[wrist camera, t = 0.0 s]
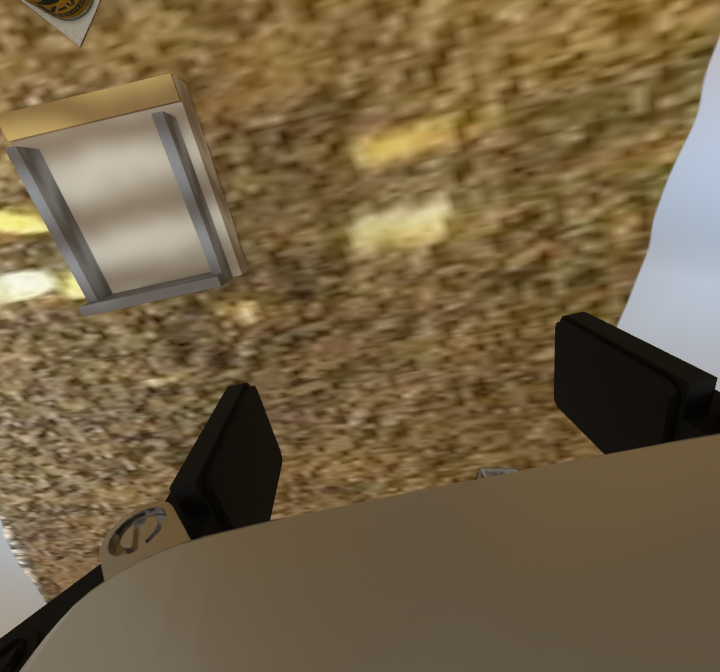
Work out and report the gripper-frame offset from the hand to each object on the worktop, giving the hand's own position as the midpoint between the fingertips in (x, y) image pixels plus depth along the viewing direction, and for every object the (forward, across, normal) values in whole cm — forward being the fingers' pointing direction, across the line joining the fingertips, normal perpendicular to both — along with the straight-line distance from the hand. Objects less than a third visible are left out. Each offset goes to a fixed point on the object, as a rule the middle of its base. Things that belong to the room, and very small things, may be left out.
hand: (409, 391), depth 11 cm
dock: (+31, +21, -9) cm, 39 cm away
